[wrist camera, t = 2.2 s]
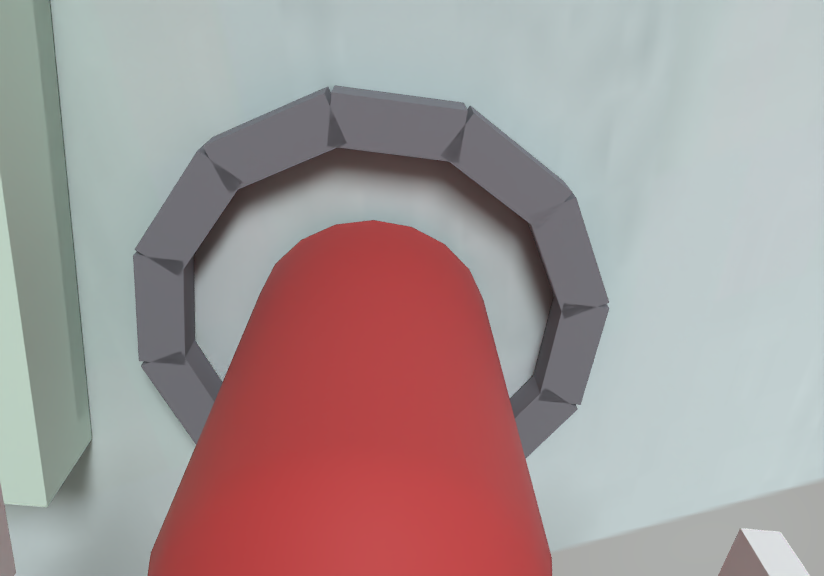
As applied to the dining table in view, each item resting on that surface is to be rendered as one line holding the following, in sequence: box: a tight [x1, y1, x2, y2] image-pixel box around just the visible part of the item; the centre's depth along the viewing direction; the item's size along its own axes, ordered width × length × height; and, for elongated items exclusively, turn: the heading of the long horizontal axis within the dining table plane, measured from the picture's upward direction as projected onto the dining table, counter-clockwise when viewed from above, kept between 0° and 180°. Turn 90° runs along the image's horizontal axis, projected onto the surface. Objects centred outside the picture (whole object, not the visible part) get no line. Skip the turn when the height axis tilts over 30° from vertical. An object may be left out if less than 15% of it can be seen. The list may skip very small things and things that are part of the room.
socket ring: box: [133, 86, 609, 459], centre depth 19 cm, size 13×13×1 cm
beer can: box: [148, 220, 552, 576], centre depth 14 cm, size 7×7×12 cm
